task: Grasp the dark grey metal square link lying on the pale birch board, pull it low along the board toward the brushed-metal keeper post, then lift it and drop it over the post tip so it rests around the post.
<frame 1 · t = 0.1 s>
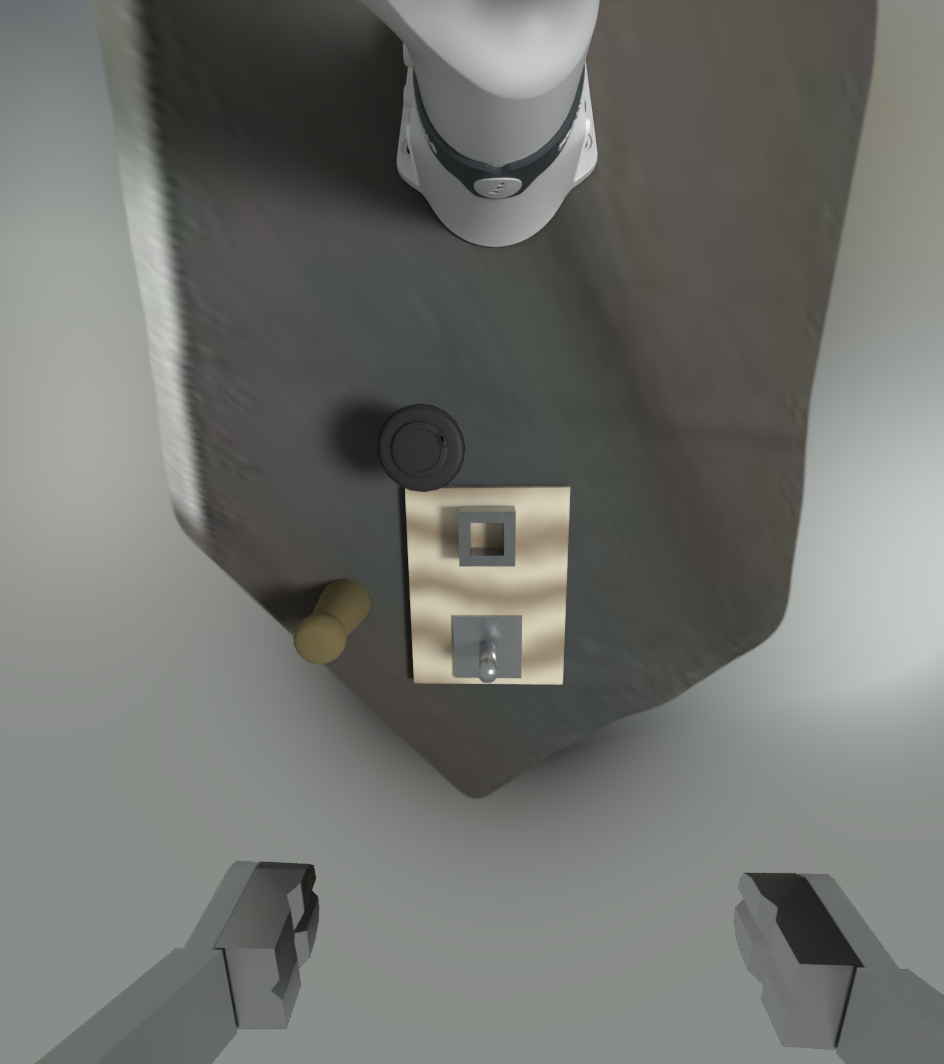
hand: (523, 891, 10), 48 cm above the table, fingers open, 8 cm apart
link: (487, 532, 56), point 1 cm above the table, touching board
board: (487, 587, 59), on the table
coffee cup: (432, 440, 55), on the table
keeper post: (487, 641, 61), resting on board
cork: (346, 602, 60), on the table
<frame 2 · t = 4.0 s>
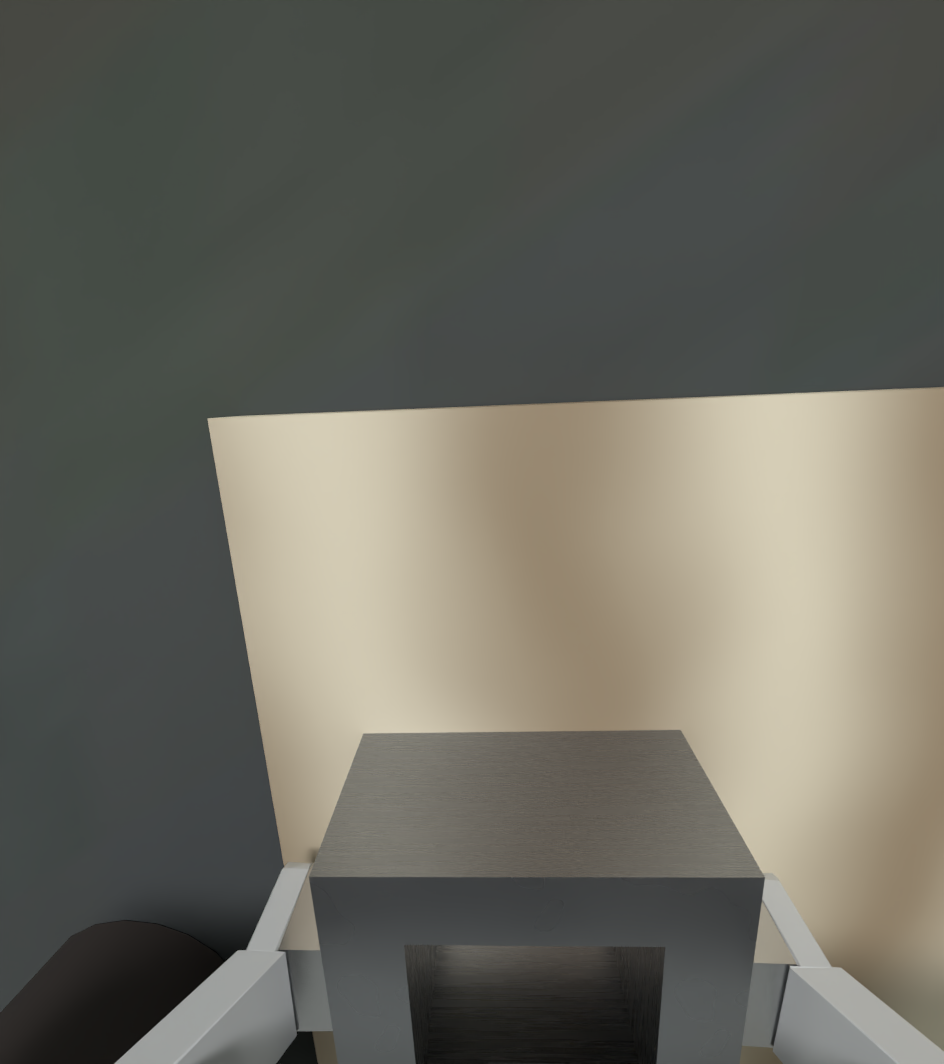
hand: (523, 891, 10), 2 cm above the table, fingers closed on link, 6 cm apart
link: (522, 858, 10), point 1 cm above the table, touching board, gripper
board: (835, 810, 11), on the table
coffee cup: (153, 988, 14), on the table
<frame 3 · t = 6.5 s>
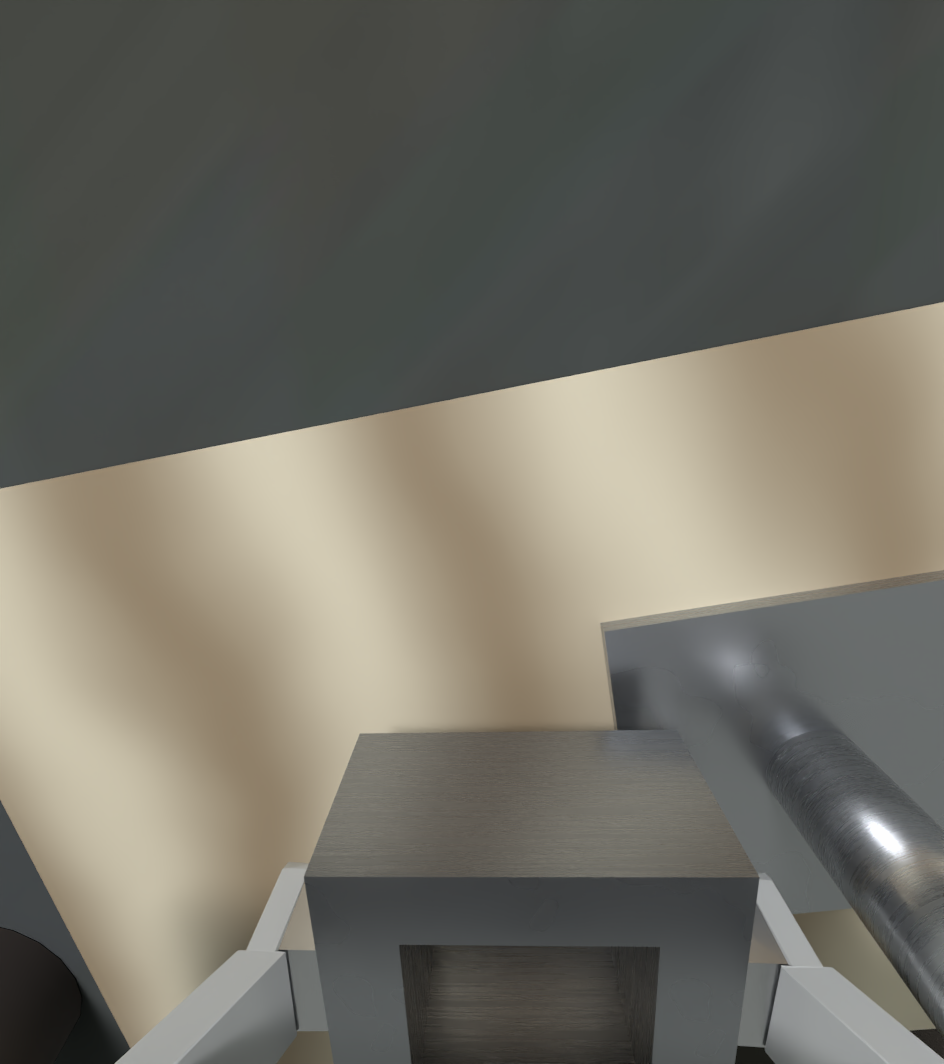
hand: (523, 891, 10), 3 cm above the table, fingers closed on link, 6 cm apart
link: (518, 858, 10), point 3 cm above the table, touching gripper
board: (492, 760, 13), on the table
coffee cup: (4, 980, 16), on the table
keeper post: (773, 723, 12), resting on board
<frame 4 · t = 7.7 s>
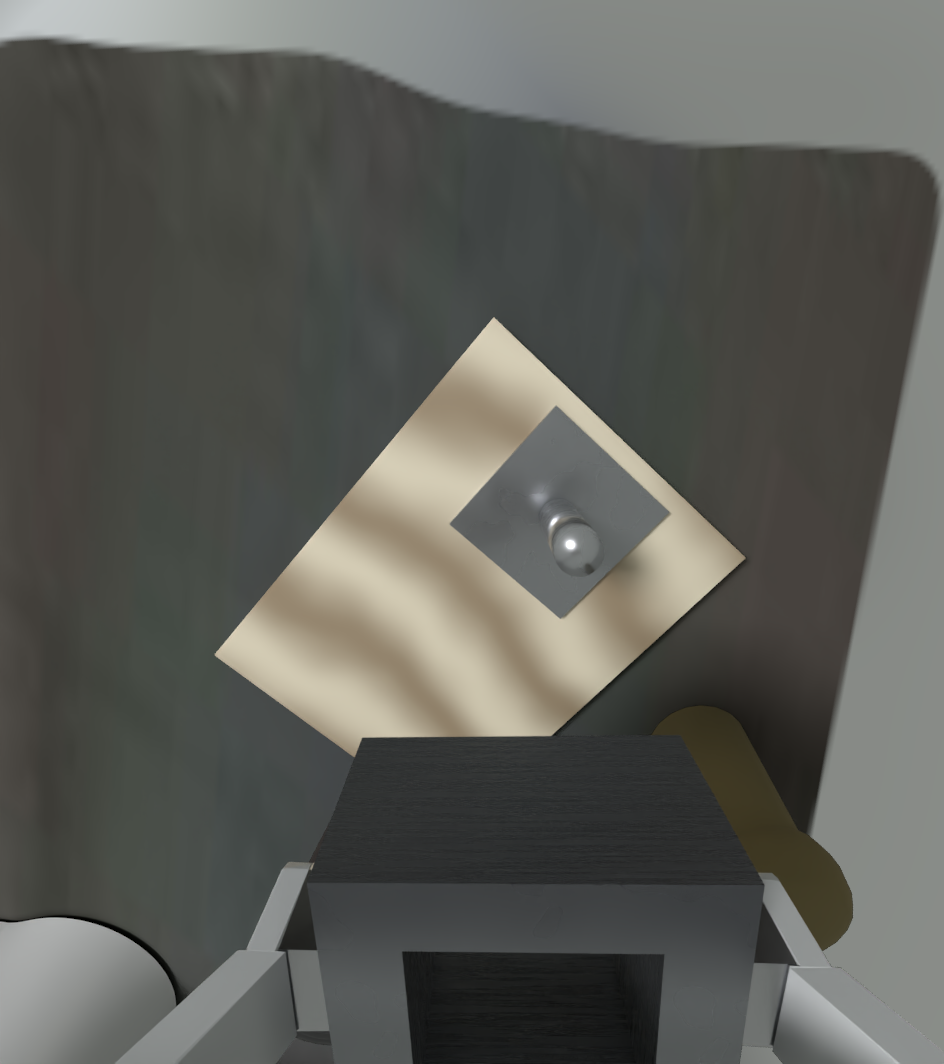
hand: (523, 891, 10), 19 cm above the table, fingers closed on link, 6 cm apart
link: (520, 862, 10), point 19 cm above the table, touching gripper
board: (469, 599, 29), on the table
coffee cup: (369, 829, 34), on the table
keeper post: (554, 511, 27), resting on board
cork: (695, 745, 31), on the table
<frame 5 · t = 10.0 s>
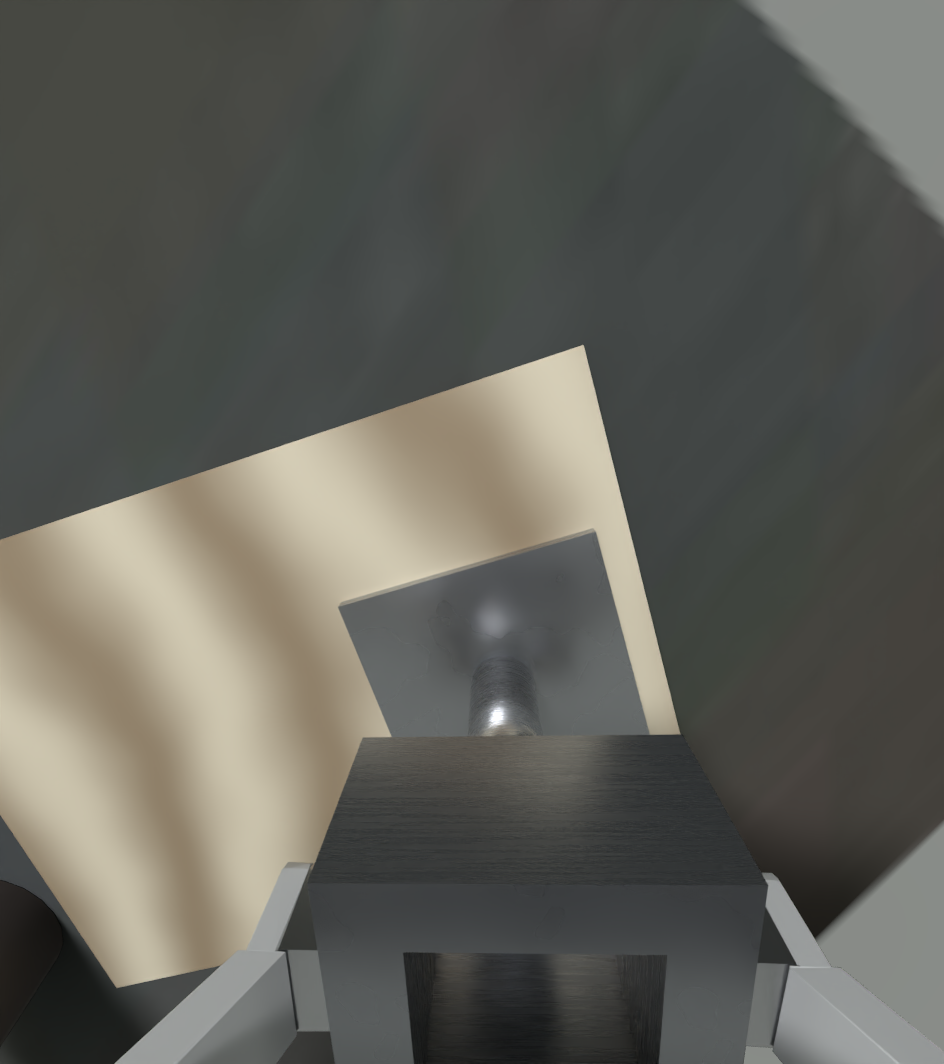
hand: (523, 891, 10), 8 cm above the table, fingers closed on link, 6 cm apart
link: (522, 863, 10), point 7 cm above the table, touching gripper
board: (314, 710, 18), on the table
coffee cup: (4, 922, 22), on the table
keeper post: (501, 659, 17), resting on board
when the fingers open (4 cm above the table, at t = 11.7 s): link drops 2 cm, resting on keeper post.
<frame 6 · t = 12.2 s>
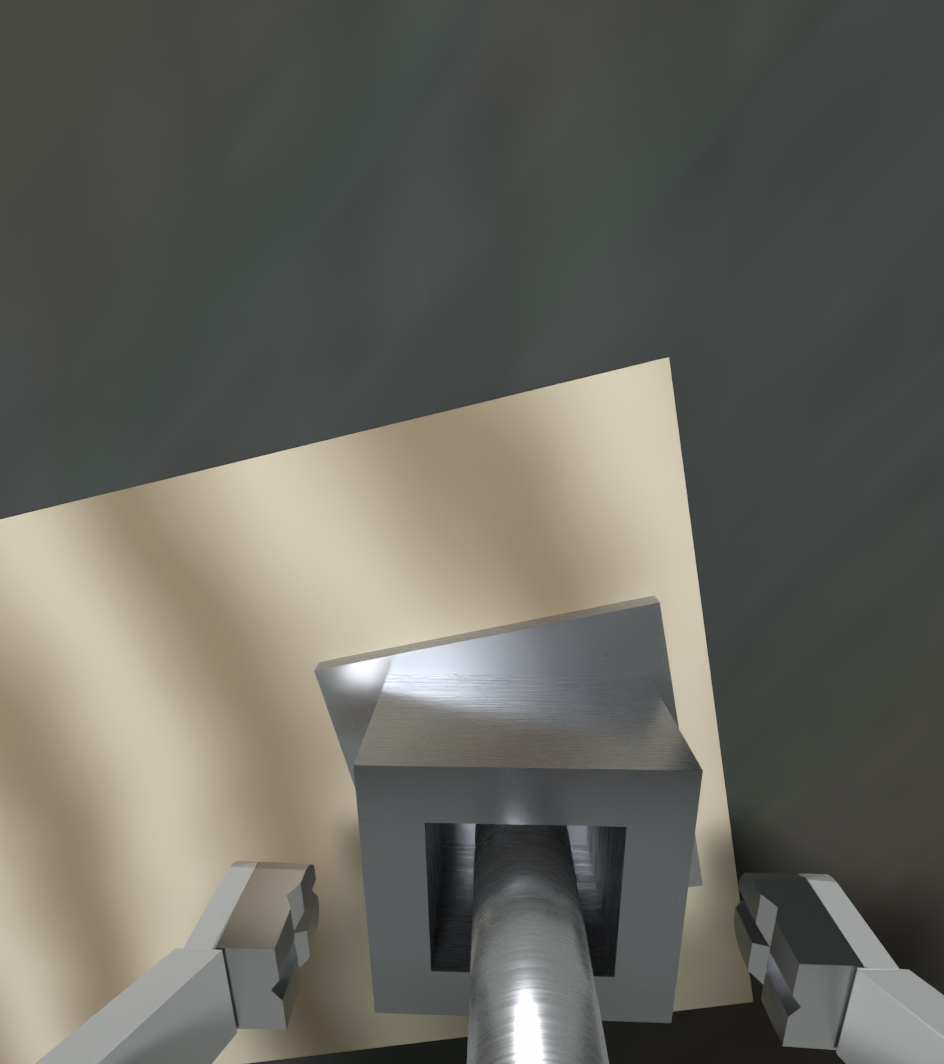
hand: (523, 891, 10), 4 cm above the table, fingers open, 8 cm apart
link: (515, 784, 12), point 2 cm above the table, touching keeper post
board: (277, 782, 15), on the table
keeper post: (514, 740, 14), resting on board
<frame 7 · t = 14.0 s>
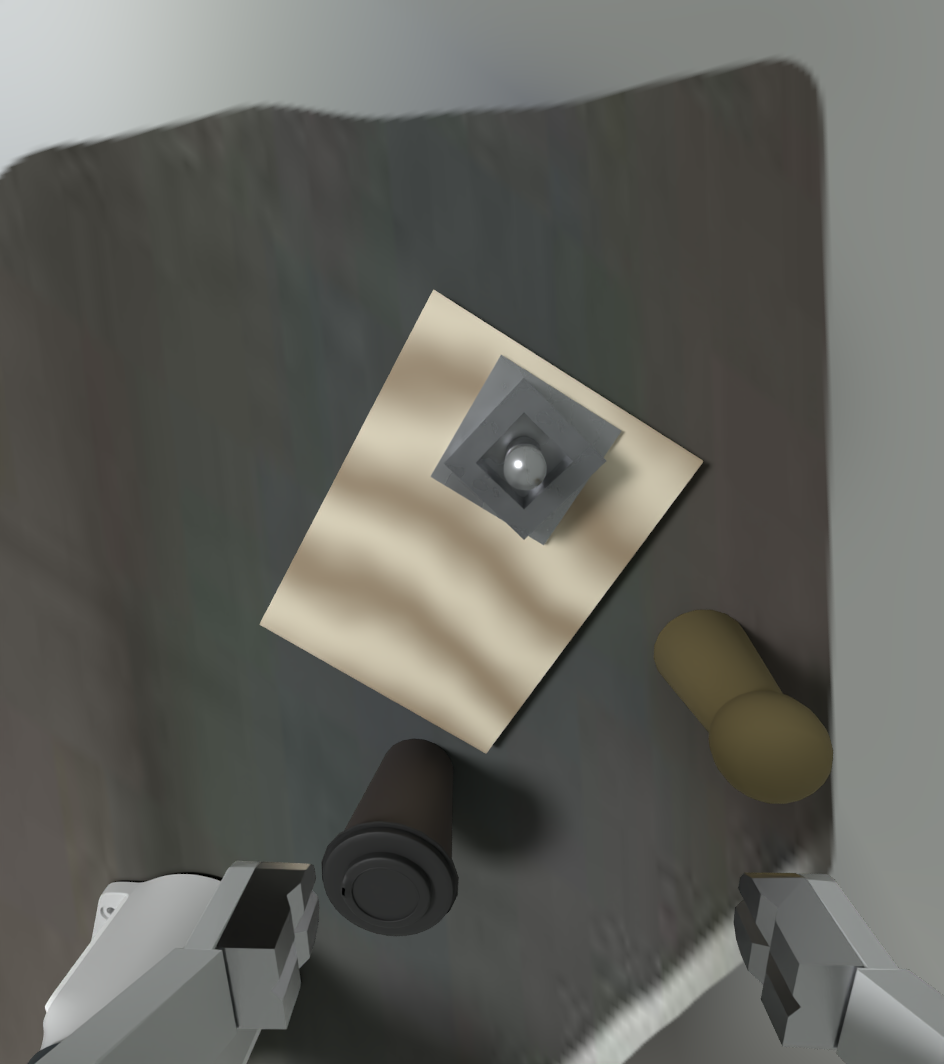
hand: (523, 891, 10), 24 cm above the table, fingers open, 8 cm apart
link: (523, 455, 29), point 2 cm above the table, touching keeper post
board: (464, 544, 33), on the table
coffee cup: (418, 767, 38), on the table
keeper post: (523, 451, 31), resting on board
cork: (699, 650, 33), on the table
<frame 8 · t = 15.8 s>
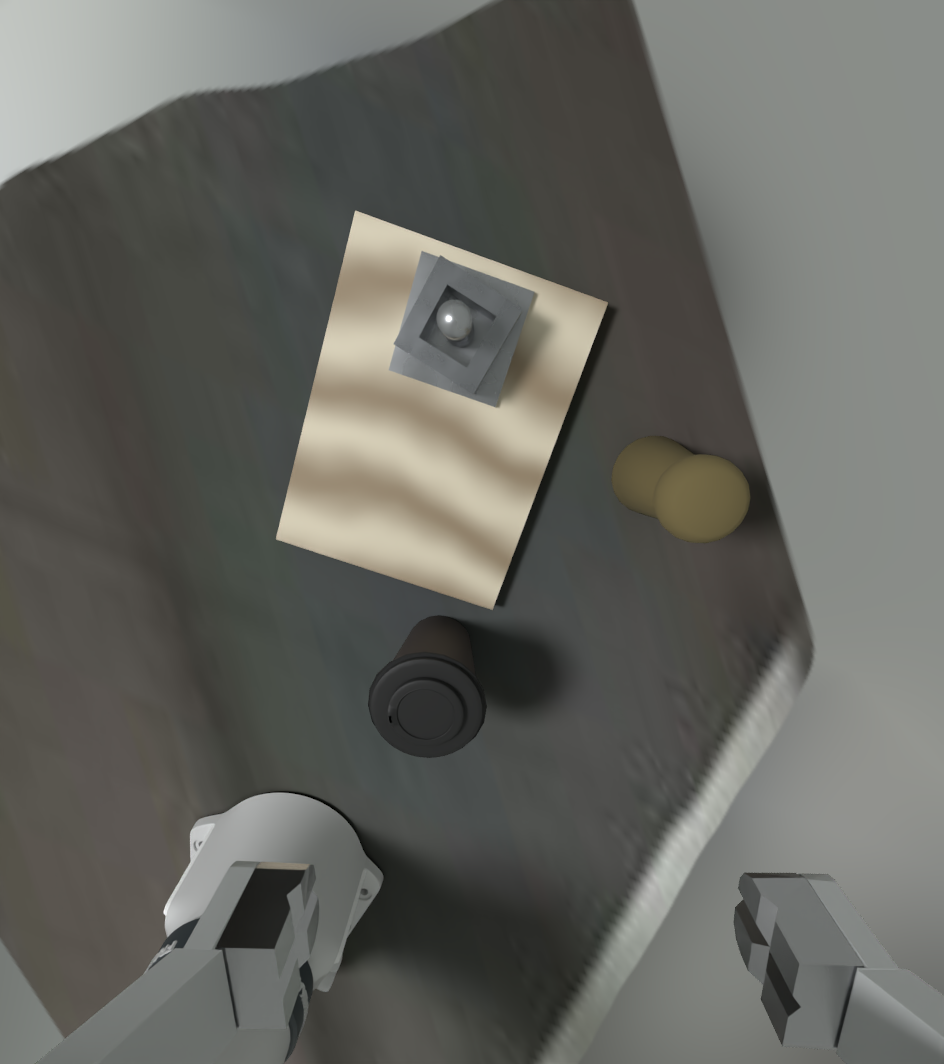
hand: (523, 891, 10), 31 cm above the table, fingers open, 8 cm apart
link: (460, 332, 35), point 2 cm above the table, touching keeper post
board: (432, 428, 38), on the table
coffee cup: (439, 643, 43), on the table
keeper post: (461, 334, 36), resting on board
cork: (650, 475, 39), on the table
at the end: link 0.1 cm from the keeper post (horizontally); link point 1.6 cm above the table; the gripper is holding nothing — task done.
